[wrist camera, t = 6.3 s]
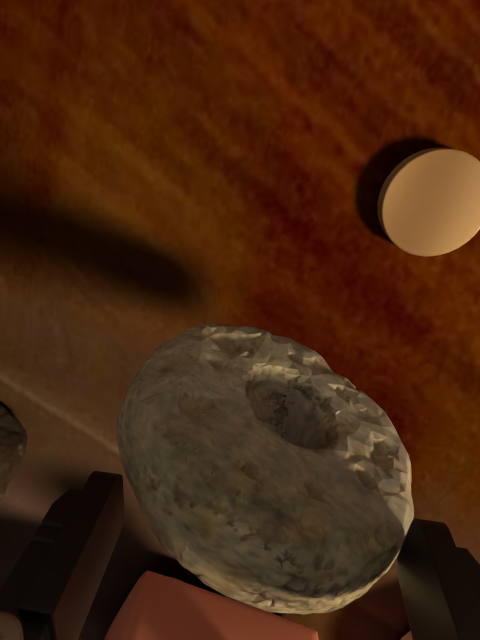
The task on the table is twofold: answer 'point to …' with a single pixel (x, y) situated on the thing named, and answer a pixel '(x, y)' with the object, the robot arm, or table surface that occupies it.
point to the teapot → (195, 615)
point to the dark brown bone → (10, 447)
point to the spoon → (431, 201)
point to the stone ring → (265, 469)
